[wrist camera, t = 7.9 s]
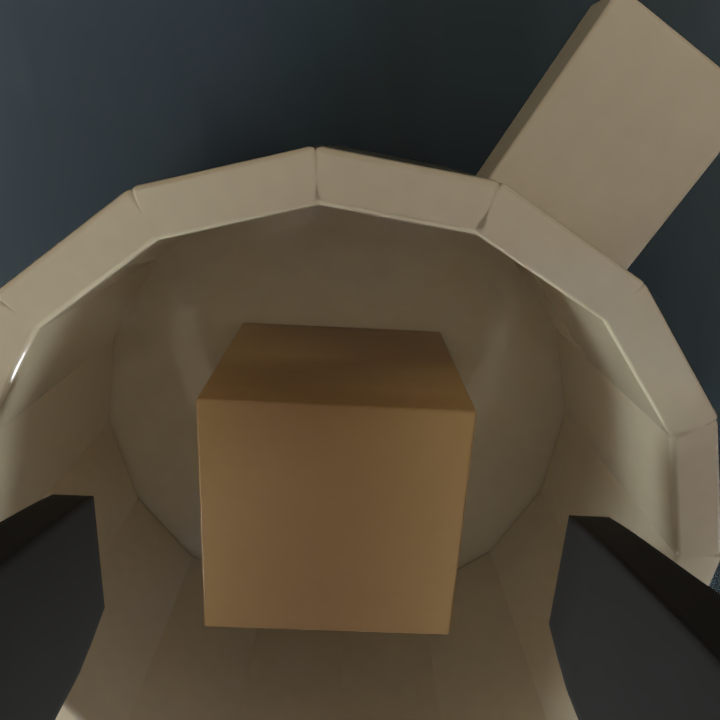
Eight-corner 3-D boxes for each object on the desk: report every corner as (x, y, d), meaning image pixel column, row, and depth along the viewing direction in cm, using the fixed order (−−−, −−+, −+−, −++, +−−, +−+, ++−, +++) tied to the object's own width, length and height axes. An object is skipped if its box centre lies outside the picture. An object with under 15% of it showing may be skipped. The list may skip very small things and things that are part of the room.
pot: (774, 240, 14) (1051, 305, 8) (351, 735, 18) (350, 986, 13) (317, -109, 12) (285, -333, 6) (-33, 553, 16) (-230, 762, 11)
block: (440, 331, 14) (477, 411, 10) (423, 502, 15) (450, 636, 11) (242, 322, 14) (195, 398, 10) (243, 495, 15) (203, 627, 11)
